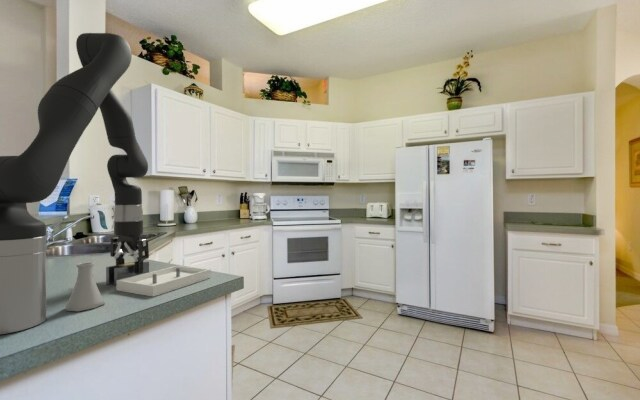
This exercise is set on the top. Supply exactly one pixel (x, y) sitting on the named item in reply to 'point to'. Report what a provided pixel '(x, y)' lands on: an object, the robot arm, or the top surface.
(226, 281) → the top surface
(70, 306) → the flask
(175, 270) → the tray
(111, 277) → the block
